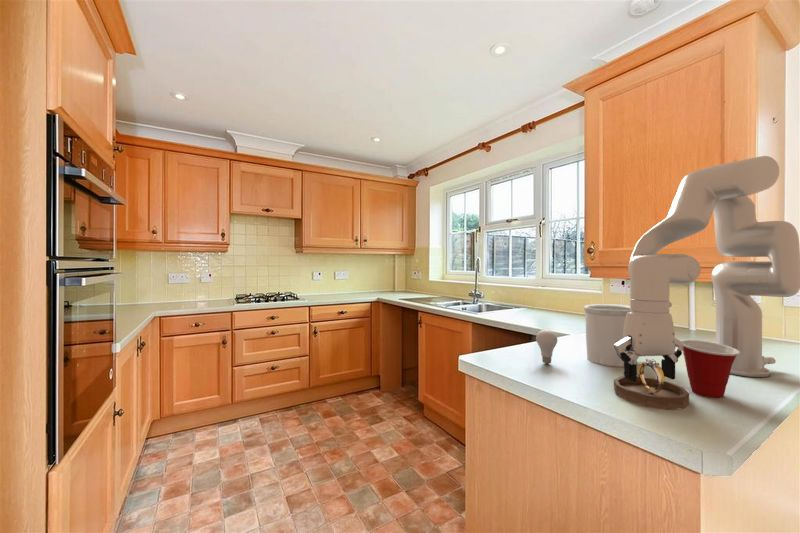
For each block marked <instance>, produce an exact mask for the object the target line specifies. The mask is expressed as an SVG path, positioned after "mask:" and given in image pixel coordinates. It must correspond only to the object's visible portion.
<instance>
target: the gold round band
mask: <svg viewBox="0 0 800 533" xmlns="http://www.w3.org/2000/svg"><path fill="white" fill-rule="evenodd" d="M646 367H649V368H651V369H652V370H653V371H654V373H655V376H656V379H657V386H656V388H655V389H654V390H653V389H652V388H649V387H648V385H647V384H646V382H645V379H644V377H645V374H644V373H645V372H644V371H645V368H646ZM637 376H639V379H640V382H641V384H642V386H643V387H644V388H645V389H646V390H647V392H648V393H658V392H660V391H661V389H662V387H663V384H664V381H665V377H664V374H663V371H662V369H661V366H660V363H659V362H657V361H656V360H654V358H652V359H648V358H645V361H642V362H640V363H638V365H637Z"/></svg>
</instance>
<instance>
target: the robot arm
mask: <svg viewBox="0 0 800 533" xmlns="http://www.w3.org/2000/svg"><path fill="white" fill-rule="evenodd" d="M779 166H780V165H779V163H778V162H777V160H776V159H774V158H773V157H771V156H770V155H769V156H768V155H761V156H756V157H751V158H746V159H741V160H736V161H732V162H731V161H730V162H724V163H722V164H721V163H720V164H716V165H711V166H707V167H704V168H700V169H698V170H695V171H692V172H690V173H687V174H686V175H685V176H684V177H683V178H682V180H681V182H680V183H679V185H678V188H677V192H675V193H676V194H675V195H674V198H673V200H672V203H671V207H670V208H669V211H668V214H667V216H666V217H665V218H664V219H663V220H661V221H659V222H658V223H657V224H655V225H654V226H653V227H652V228H650V229H649V230H647V232H645V233H644V234H643V235H642V236H641V237H640V238H639V239H638V241H637V242H636V243H635V246H634V249H633V251H632V253H631V255H630V259H629V261H628V262H629V263H628V265H627V266H628V268H627V270H628V275H629V278H630V279H629V283H630V284H629V288H630V289H629V291H630V292H629V293H630V295H629V297H630V298H629V299H630V300H629V302H630V304H629V306H630V312H627V315H626V318H625V323H624V330H623V339H622V340H621V341H619V342H617V343H616V344H614V348H615V350H616V352H617V355H618V356H619V357H620V358H621V360H622V361H623V362H624V367H623V374H624V377H625V378H627V379H629V380H631V381H633V382H634V381H637V376H638V365H637V364H634V363H635V362H636V360H637V361H638V359H639V358H640V357H657V356H658V357H662V359H661V362H660V363H661V364H660V365H661V366H660V368H661V369H662V371H663V374H664V378H667V379H669V380H672V381H673V380H674V381H675V380H676V364H677V363H678V362H679V358H680V357H681V356H682V354H683V348H684V346H685V343H684V342H682V341H681V340H679V339H678V338H676V336H675V334H676V333H675V327H674V321H673V317H672V313H671V312H670V308H671V307H672V306H673V305H672V304H673V303H672V302H671V301H670V286H687V285H690V284H692V283H694V282H696V280H697V279H698V278H699V277H700V274H701V264H700V263H699V261H698V260H697V259H696V258H695V257H694V256H691V255H689V254H684V253H683V254H682V253H670V254H668V253H661V254H658V252H659V251H660V250H662V249H664V248H665V247H667V246H669V245H670V244H673V243H676V242H678V241H681V240H683V239H686V238H689V237H691V236H693V235H696V234H699V233H700V232H702V231H704V230H705V229H706V228H707V227H708V225H709V223H710V220H711V218H712V214H713V221H714V222H713V223H714V224H713V225H714V234H715V237H714V238H715V245H716V250H717V252H718V254H720V255H722V256H725V257H728V258H729V257H732V258H757V257H758V258H768V259H769V260H770V261H767V260H766V261H758V260H757V261H755V260H753V261H752V260H750V261H749V260H748V261H747V260H746V261H745V260H744V261H743V260H741V261H739V260H738V261H737V260H736V261H735V260H734V261H726V262H722V263H718V264H717V265H716V266H714V268H713V269H712V271H711V283H712V286H713V287H712V288H713V291H714V297H715V298H714V299H715V343H717V344H721V345H725V346H729V347H732V348H734V349H737V350H738V351H740V353H739V355H737V356H736V357H735V359H734V362H733V364H732V367H731V371H730V375H731V374H732V375H736V376H742V377H751V378H766V377H770V375H771V371H770V369H768V368H766V367H765V366H766V365H774V364H776V362H777V361H776V359H775V358H774V357H772V356H767V357H765V356H764V355H763V312H762V308H761V307H760V306H759V304H758V303H757V301H756V300H754V299H753V297H754V296H758V297H759V296H761V297H772V298H774V297H776V298H789V297H792V296H795V295H797V294H798V293H799V291H800V239H799V238H800V237H799V234H798V231H797V228H796V227H795V226H794V225H793V223H791V222H789V221H785V220H769V221H768V220H767V221H758V220H757V215H756V214H757V213H756V205H755V203H754V200H752V199H751V198H750V196H752V195H755V194H758V193H761V192H763V191H766V190H769V189H770V188H772V187H773V186H774V185H775V184H776V183H777V181H778V179H779V176H780V167H779ZM752 296H753V297H752ZM624 351H626V352H624ZM631 355H632V356H631ZM630 356H631V357H630Z"/></svg>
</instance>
